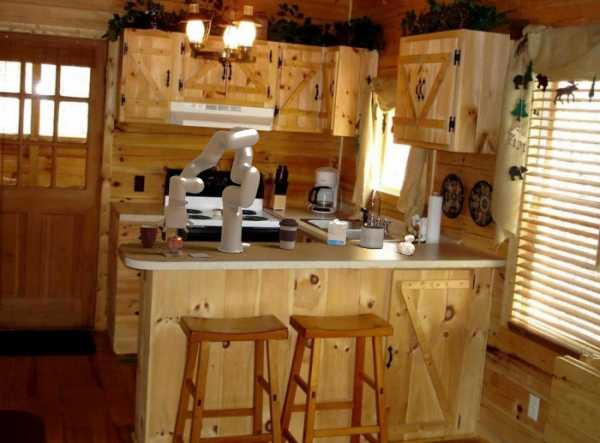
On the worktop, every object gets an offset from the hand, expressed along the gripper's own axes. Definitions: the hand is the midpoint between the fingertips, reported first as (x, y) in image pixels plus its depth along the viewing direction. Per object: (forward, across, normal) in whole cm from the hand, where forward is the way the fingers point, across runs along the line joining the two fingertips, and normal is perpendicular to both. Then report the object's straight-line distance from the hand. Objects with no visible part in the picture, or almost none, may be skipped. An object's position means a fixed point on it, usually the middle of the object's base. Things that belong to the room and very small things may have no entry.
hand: (174, 240), depth 375 cm
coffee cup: (+6, -65, -15) cm, 67 cm away
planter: (+4, -116, -17) cm, 117 cm away
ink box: (+5, -100, -27) cm, 103 cm away
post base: (+7, -1, 0) cm, 7 cm away
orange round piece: (+3, -1, 0) cm, 3 cm away
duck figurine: (+4, -125, +4) cm, 125 cm away
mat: (+6, -12, +3) cm, 14 cm away
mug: (+7, +6, -19) cm, 21 cm away
